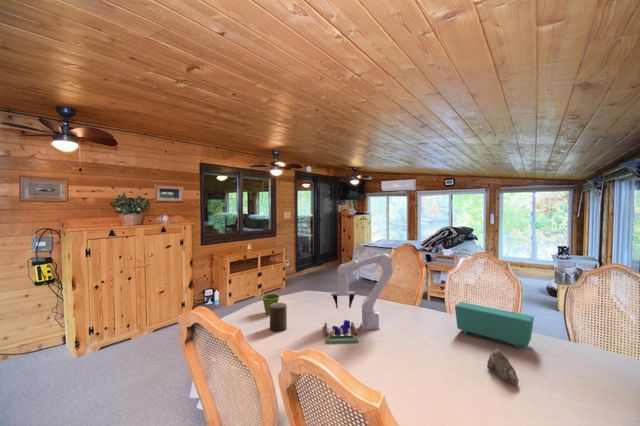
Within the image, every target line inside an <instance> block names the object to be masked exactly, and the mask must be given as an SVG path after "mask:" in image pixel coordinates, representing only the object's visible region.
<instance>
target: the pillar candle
mask: <svg viewBox="0 0 640 426" xmlns="http://www.w3.org/2000/svg"><path fill="white" fill-rule="evenodd" d="M287 306H288V305H287V304H286V303H284V302H278V303H273V304H271V305H270V315H269V330H270V331H271V332H273V333H282V332H285V331H286V330H287V327H288V323H287V322H288V321H287V317H288V316H287V313H288V312H287V311H288V310H287Z"/></svg>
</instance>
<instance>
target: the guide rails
mask: <svg viewBox="0 0 640 426" xmlns="http://www.w3.org/2000/svg"><path fill="white" fill-rule="evenodd" d="M350 328H351V329H352V332H353V336H357V337H358V332H357V329H356V326H355V324H354V322H353V321H350ZM328 332H329V331H328V324H327V322H324V335H325V338H326V337H329V336H328V335H329V333H328Z"/></svg>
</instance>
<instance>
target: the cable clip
mask: <svg viewBox="0 0 640 426" xmlns="http://www.w3.org/2000/svg"><path fill="white" fill-rule="evenodd" d="M348 328H350V329H351V321H350V320H348V319H344V320H343V324H340V327H339V326H337V325H332V334H331V335H333V329H335V335H341V331H340V329H342V334H343V335H347V334H348Z"/></svg>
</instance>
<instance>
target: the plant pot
mask: <svg viewBox="0 0 640 426" xmlns="http://www.w3.org/2000/svg"><path fill="white" fill-rule="evenodd" d="M280 297H281V296H280V295H279V294H277V293H267V294H263V295H262V296H261V299H262V302H263V308H264V312H265V315H268V316H270V305H271V304H273V303H279V301H280V300H279V299H280Z"/></svg>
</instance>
